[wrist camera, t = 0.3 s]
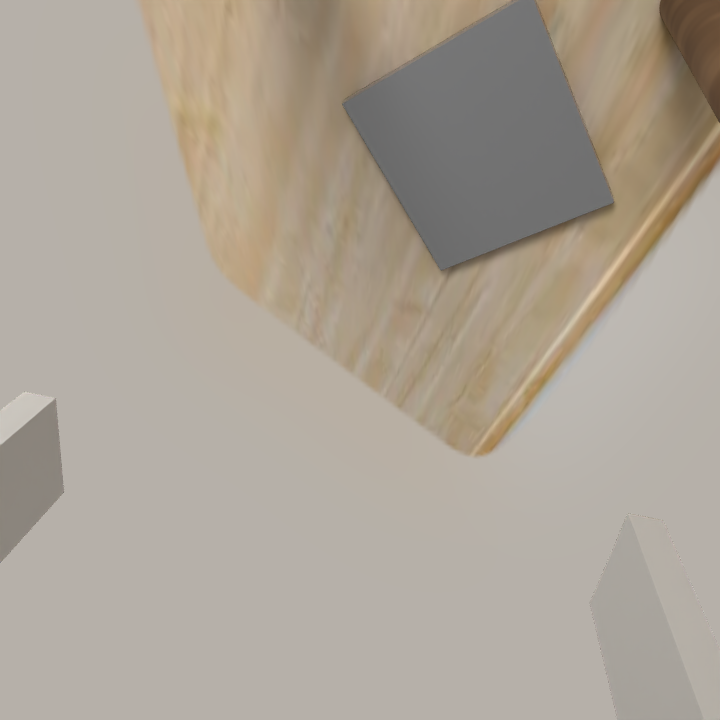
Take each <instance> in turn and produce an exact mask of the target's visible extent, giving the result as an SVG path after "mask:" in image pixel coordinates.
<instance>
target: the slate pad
mask: <svg viewBox="0 0 720 720" xmlns="http://www.w3.org/2000/svg"><path fill="white" fill-rule="evenodd" d="M342 105H343V106H344V108H345V110H346V111H347V113H348V115H349V117H350V118H351V120H352V122H353V123H354V125H355V127H356V128H357V130H358V132H359V133H360V135H361V137H362V138H363V140H364V142H365V144H366V145H367V147H368V149H369V150H370V152H371V154H372V155H373V157H374V159H375V160H376V162H377V164H378V165H379V167H380V169H381V170H382V172H383V174H384V176H385V177H386V179H387V181H388V182H389V184H390V186H391V187H392V189H393V191H394V192H395V194H396V196H397V197H398V199H399V201H400V203H401V204H402V206H403V208H404V209H405V211H406V213H407V214H408V216H409V218H410V219H411V221H412V223H413V224H414V226H415V228H416V230H417V231H418V233H419V235H420V236H421V238H422V240H423V241H424V243H425V245H426V246H427V248H428V250H429V251H430V253H431V255H432V257H433V258H434V260H435V262H436V263H437V265H438V267H439V268H440V270H443V269H446V268H449V267H451V266H454V265H456V264H459V263H461V262H464V261H466V260H469V259H471V258H474V257H477V256H479V255H482V254H484V253H487V252H489V251H492V250H494V249H497V248H499V247H502V246H505V245H507V244H510V243H512V242H515V241H517V240H520V239H522V238H525V237H527V236H530V235H533V234H535V233H538V232H540V231H543V230H545V229H548V228H550V227H553V226H555V225H558V224H561V223H563V222H566V221H568V220H571V219H573V218H576V217H578V216H581V215H583V214H586V213H589V212H591V211H594V210H596V209H599V208H601V207H604V206H606V205H609V204H611V203H614V199H613V195H612V192H611V190H610V187H609V185H608V182H607V180H606V177H605V175H604V172H603V169H602V167H601V164H600V162H599V159H598V157H597V154H596V152H595V149H594V147H593V144H592V142H591V139H590V137H589V134H588V132H587V129H586V127H585V124H584V121H583V119H582V116H581V114H580V111H579V109H578V106H577V104H576V101H575V99H574V96H573V94H572V91H571V89H570V86H569V84H568V81H567V79H566V76H565V73H564V71H563V68H562V66H561V63H560V61H559V58H558V56H557V53H556V51H555V48H554V46H553V43H552V41H551V38H550V36H549V33H548V30H547V28H546V25H545V23H544V20H543V18H542V15H541V13H540V10H539V8H538V5H537V3H536V0H513V1H511V2H509V3H508V4H506V5H504V6H502V7H501V8H499V9H497V10H496V11H494V12H492V13H491V14H489V15H487V16H485V17H484V18H482V19H480V20H479V21H477V22H475V23H474V24H472V25H470V26H468V27H467V28H465V29H463V30H462V31H460V32H458V33H457V34H455V35H453V36H451V37H450V38H448V39H446V40H445V41H443V42H441V43H440V44H438V45H436V46H435V47H433V48H431V49H429V50H428V51H426V52H424V53H423V54H421V55H419V56H418V57H416V58H414V59H412V60H411V61H409V62H407V63H406V64H404V65H402V66H401V67H399V68H397V69H395V70H394V71H392V72H390V73H389V74H387V75H385V76H384V77H382V78H380V79H378V80H377V81H375V82H373V83H372V84H370V85H368V86H367V87H365V88H363V89H362V90H360V91H358V92H356V93H355V94H353V95H351V96H350V97H348V98H346V99H345V100H344V102H343V103H342Z"/></svg>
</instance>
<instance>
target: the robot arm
mask: <svg viewBox="0 0 720 720" xmlns="http://www.w3.org/2000/svg"><path fill="white" fill-rule="evenodd" d="M63 493H64V487H63V476H62V464H61V453H60V442H59V430H58V419H57V408H56V398H53V397H48V396H43V395H38V394H33V393H28V392H24V393H22V394H21V395H19V396H18V397H17V398H16V399H14V400H13V401H12V402H10V403H9V404H8V405H7V406H5V407H4V408H3V409H2V410H0V563H1V562H2V561H3V559H4V558H5V557H6V556H7V555H8V554H9V553H10V552H11V550H12V549H13V548H14V547H15V546H16V545H17V544H18V543H19V542H20V541H21V539H22V538H23V537H24V536H25V535H26V534H27V533H28V532H29V531H30V529H31V528H32V527H33V526H34V525H35V524H36V523H37V522H38V521H39V519H40V518H41V517H42V516H43V515H44V514H45V513H46V512H47V511H48V509H49V508H50V507H51V506H52V505H53V504H54V503H55V502H56V501H57V499H58V498H59V497H60V496H61V495H62V494H63ZM590 607H591V611H592V615H593V620H594V624H595V628H596V632H597V636H598V640H599V645H600V649H601V653H602V657H603V661H604V666H605V670H606V674H607V678H608V683H609V687H610V691H611V695H612V699H613V703H614V707H615V712H616V716H617V720H720V648H719V646H718V644H717V641H716V639H715V637H714V634H713V632H712V630H711V628H710V625H709V623H708V621H707V619H706V616H705V614H704V612H703V610H702V607H701V605H700V603H699V600H698V598H697V596H696V594H695V591H694V589H693V587H692V584H691V582H690V580H689V578H688V576H687V573H686V571H685V568H684V566H683V564H682V562H681V559H680V557H679V555H678V553H677V550H676V548H675V546H674V544H673V541H672V539H671V537H670V534H669V532H668V530H667V527H666V525H665V523H664V521H663V520H659V519H654V518H649V517H644V516H639V515H634V514H629V513H628V514H627V516H626V519H625V521H624V523H623V526H622V528H621V531H620V533H619V535H618V538H617V540H616V542H615V545H614V547H613V549H612V552H611V554H610V556H609V559H608V561H607V563H606V566H605V568H604V570H603V573H602V575H601V578H600V580H599V582H598V585H597V587H596V589H595V591H594V594H593V596H592V599H591V601H590Z"/></svg>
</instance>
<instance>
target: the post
mask: <svg viewBox="0 0 720 720" xmlns="http://www.w3.org/2000/svg"><path fill="white" fill-rule="evenodd" d="M660 15H661V18H662V20H663V21H664V23H665V25H666V27H667V29H668V30H669V32H670V34H671V36H672V38H673V39H674V41H675V43H676V45H677V47H678V49H679V50H680V52H681V54H682V56H683V58H684V59H685V61H686V63H687V65H688V67H689V68H690V70H691V72H692V74H693V76H694V77H695V79H696V81H697V83H698V85H699V86H700V88H701V90H702V92H703V94H704V95H705V97H706V99H707V101H708V103H709V104H710V106H711V108H712V110H713V112H714V113H715V115H716V117H717V119H718V121H719V122H720V0H661V2H660Z"/></svg>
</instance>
